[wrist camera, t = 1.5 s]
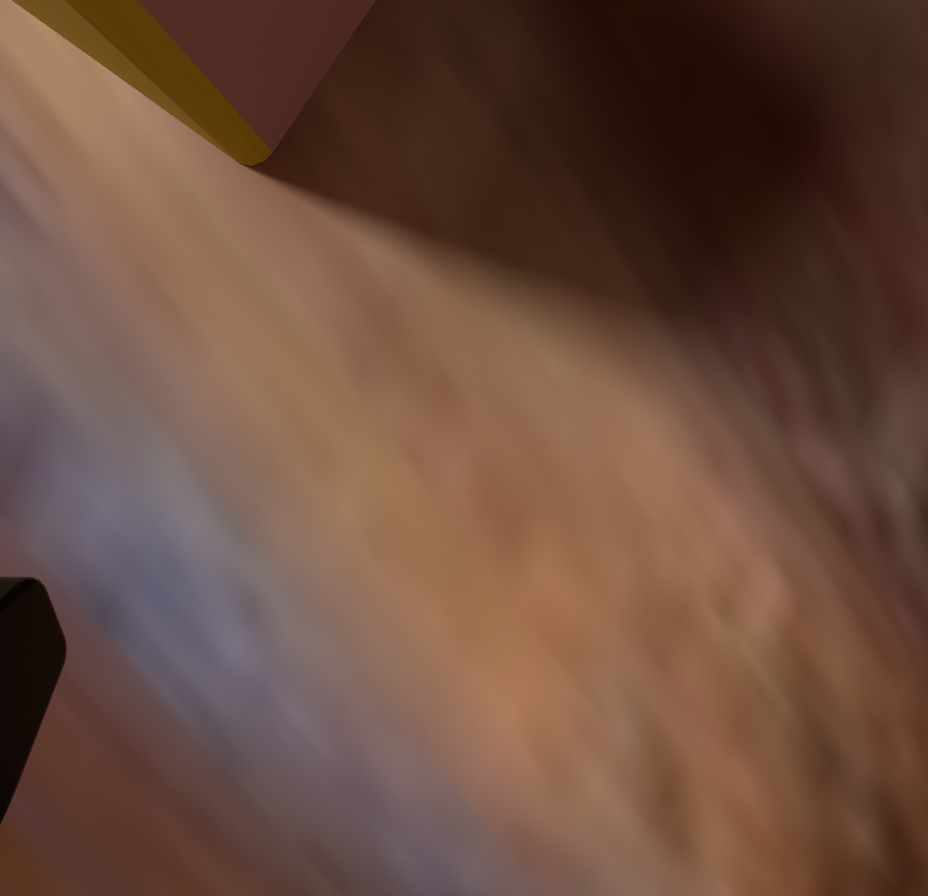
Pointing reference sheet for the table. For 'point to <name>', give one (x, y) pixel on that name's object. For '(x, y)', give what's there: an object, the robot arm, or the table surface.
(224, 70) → the yellow tall block
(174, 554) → the table surface
